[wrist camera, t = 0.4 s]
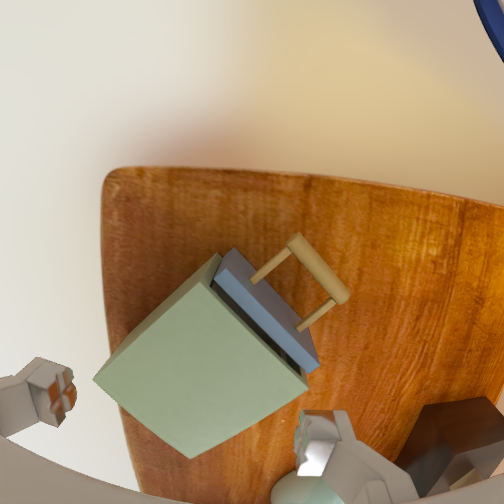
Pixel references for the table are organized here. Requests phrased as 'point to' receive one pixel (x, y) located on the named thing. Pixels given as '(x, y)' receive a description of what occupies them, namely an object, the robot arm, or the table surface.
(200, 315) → the cabinet
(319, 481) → the planter
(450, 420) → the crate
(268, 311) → the drawer
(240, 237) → the table surface
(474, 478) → the block
